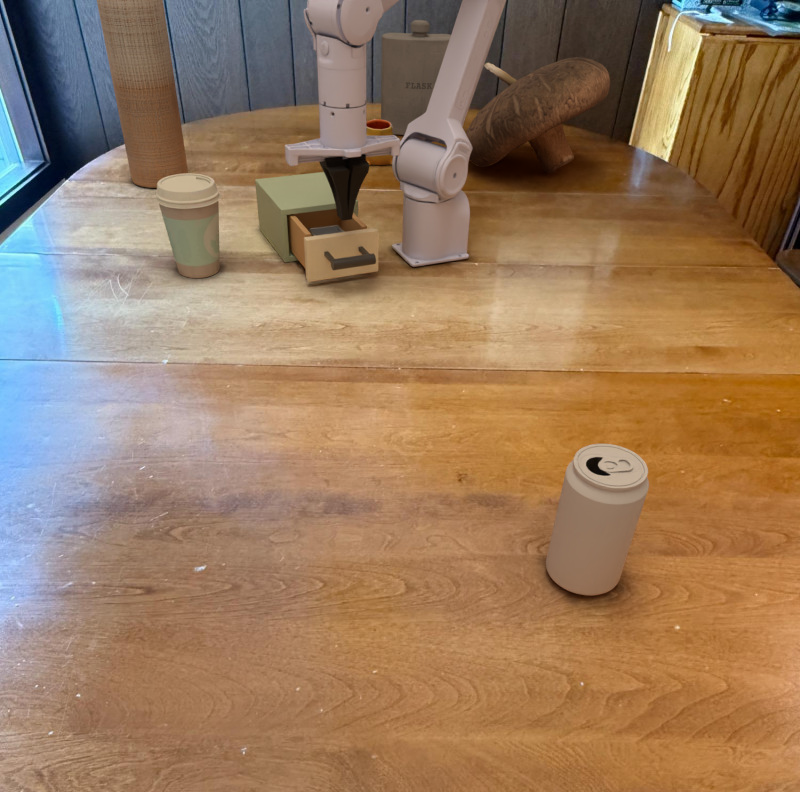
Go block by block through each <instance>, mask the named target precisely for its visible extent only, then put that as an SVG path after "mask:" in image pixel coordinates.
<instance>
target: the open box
mask: <svg viewBox="0 0 800 792" xmlns="http://www.w3.org/2000/svg"><path fill="white" fill-rule="evenodd" d="M308 231H309V232H310V233H311V236H318V235H325V234H333V233H340V232H345V231H344V230H343V229H342V228H341V227H340V226H339V225H332V226H324V227H317V228H309V229H308Z"/></svg>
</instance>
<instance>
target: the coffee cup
mask: <svg viewBox="0 0 800 792" xmlns="http://www.w3.org/2000/svg"><path fill="white" fill-rule="evenodd" d="M221 196H222V195H221V193H220V188H218V186H217V184H216V182H215V180H214V178H213V177H211V176H209V175H206V174H201V173H191V172H190V173H189V172H188V173H185V174H176V175H171V176H167V177H164V178H162V179H161V180H159V181H158V183H157V188H156V191H155V202H156V203H157V204H158V205H159V209H160V212H161V216H162V220H163V223H164V226H165V231H166V234H167V237H168V240H169V244H170V248H171V251H172V254H173V259H174V261H175V264H176V269H177V272H178V273H179V275H181V276H183V277H185V278H190V279H203V278H208V277H211V276H214V275H216V274H217V273H219V272H220V266H221V264H220V262H221V261H220V214H219V213H220V209H219V208H220V206H219V205H220V204H219V202H220V201H219V200H220V199H221V198H222V197H221Z"/></svg>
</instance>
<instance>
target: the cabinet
mask: <svg viewBox="0 0 800 792" xmlns="http://www.w3.org/2000/svg"><path fill="white" fill-rule="evenodd" d="M254 185H255V195H256V205H257V217H258V227H259V231H260V232H261V233H262V235H263V236H264V237H265V238H266V240H267V241H268V242H269V244H270V245H271V246H272V248H273V249H274V251H276V253H277V254H278V256H279V257H280V259H282V261H283V262H284V263H291V262H292V263H293V262H300V261H299V260H298V259H297V258H296V256H295V255H294V254H293V253H292V251H291V250H290V249H289V241H288V227H287V215H290V214H298V213H306V212H314V211H322V210H330V209H336V204H335V200H334V197H333V193H332V190H331V188H330V185H329V182H328V180H327V178H326V175H325V173H324V171H320V172H310V173H302V174H301V173H299V174H293V175H291V174H290V175H282V176H274V177H264V178H263V177H262V178H256V179H254ZM353 213H354V214H355V215H356V216H357V217H358V218H359V200H358V198H357V199H356V202H355V206H354V211H353Z"/></svg>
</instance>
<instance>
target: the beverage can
mask: <svg viewBox="0 0 800 792" xmlns="http://www.w3.org/2000/svg"><path fill="white" fill-rule="evenodd" d="M648 475H649V468H648V464H647V463H646V462H645V460H644V458H642V457H641V456H640V455H639V454H637V453H636V452H634V451H633V450H631V449H629V448H627V447H624V446H620V445H618V444H617V445H616V444H612V443H593V444H589V445H586V446H583V447H581V448H579V450H577V451H576V452H575V454H574V456H573V459H572V460H571V461H570V462H569V463H568V465H567V467H566V469H565V472H564V478H563V482H562V487H561V491H560V495H559V500H558V504H557V509H556V514H555V518H554V523H553V526H552V531H551V536H550V540H549V544H548V549H547V554H546V558H545V567H546V568H545V569H546V571H547V574H548V575H549V577H550V578H551V579H552V581H553V582H554V583H556V584H557V585H558V586H559V587H561V588H562V589H563V590H566V591H568V592H570V593H573V594H576V595H581V596H599V595H603V594H606V593H608V592H611V591H612V590H613V589H614V588H615V587H616V586H617V585H618V584H619V582H620V580H621V576H622V574H623V570H624V568H625V564H626V561H627V558H628V554H629V551H630V549H631V545H632V542H633V538H634V537H635V533H636V529H637V527H638V523H639V521H640V517H641V514H642V511H643V508H644V504H645V502H646V498H647V495H648V492H649V488H650V482H649V481H650V480H649V478H648Z"/></svg>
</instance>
